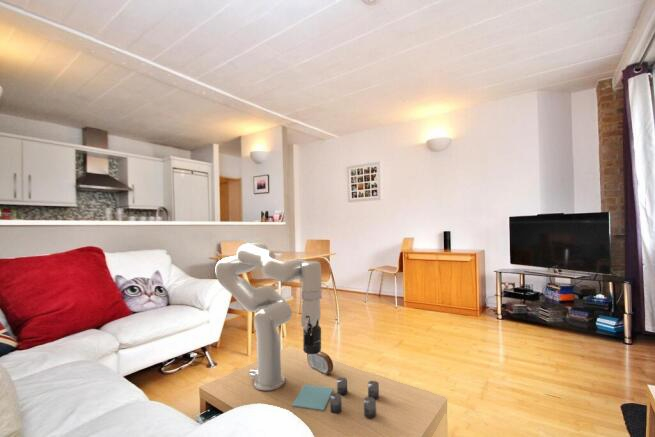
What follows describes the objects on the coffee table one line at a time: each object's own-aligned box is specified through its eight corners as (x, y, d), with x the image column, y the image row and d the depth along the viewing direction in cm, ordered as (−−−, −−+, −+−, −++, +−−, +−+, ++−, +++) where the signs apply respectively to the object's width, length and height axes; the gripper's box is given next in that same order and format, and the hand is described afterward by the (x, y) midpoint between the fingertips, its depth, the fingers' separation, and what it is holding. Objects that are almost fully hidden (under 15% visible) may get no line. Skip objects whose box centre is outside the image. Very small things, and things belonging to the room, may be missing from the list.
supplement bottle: (319, 355, 112) (318, 322, 112) (301, 354, 113) (300, 321, 113) (323, 347, 119) (322, 316, 119) (306, 346, 120) (305, 315, 120)
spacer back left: (336, 395, 117) (335, 382, 117) (338, 389, 121) (338, 376, 121) (346, 396, 116) (346, 383, 116) (348, 390, 120) (348, 378, 120)
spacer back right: (367, 399, 114) (367, 385, 114) (368, 393, 118) (368, 380, 118) (378, 400, 113) (378, 387, 113) (379, 394, 117) (379, 381, 117)
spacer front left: (329, 413, 106) (328, 398, 106) (331, 406, 110) (331, 392, 110) (340, 414, 105) (340, 400, 105) (342, 407, 109) (342, 393, 109)
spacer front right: (363, 418, 103) (363, 403, 103) (365, 410, 107) (364, 396, 107) (375, 419, 102) (375, 404, 102) (376, 412, 106) (376, 398, 106)
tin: (333, 375, 132) (333, 355, 132) (328, 377, 130) (328, 358, 130) (311, 363, 143) (310, 345, 143) (306, 365, 141) (305, 347, 141)
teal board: (291, 406, 111) (291, 405, 111) (304, 385, 124) (304, 384, 124) (323, 411, 107) (323, 409, 107) (333, 389, 121) (333, 388, 121)
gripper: (309, 288, 125) (309, 332, 125) (294, 299, 108) (294, 350, 108) (327, 289, 123) (327, 333, 123) (314, 301, 106) (315, 352, 107)
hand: (312, 340), depth 116 cm, fingers closed on supplement bottle, 6 cm apart
